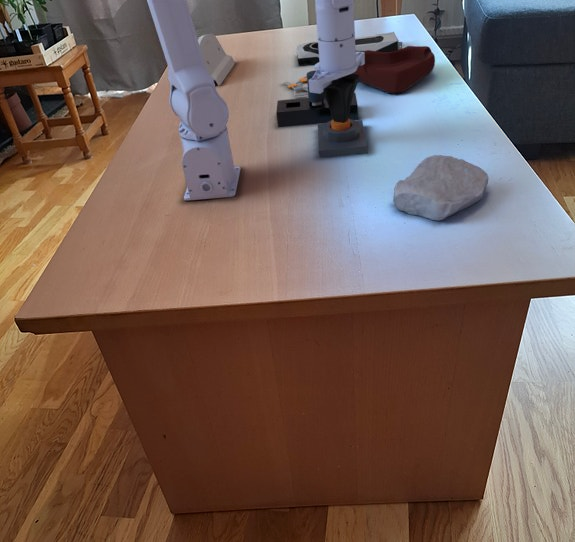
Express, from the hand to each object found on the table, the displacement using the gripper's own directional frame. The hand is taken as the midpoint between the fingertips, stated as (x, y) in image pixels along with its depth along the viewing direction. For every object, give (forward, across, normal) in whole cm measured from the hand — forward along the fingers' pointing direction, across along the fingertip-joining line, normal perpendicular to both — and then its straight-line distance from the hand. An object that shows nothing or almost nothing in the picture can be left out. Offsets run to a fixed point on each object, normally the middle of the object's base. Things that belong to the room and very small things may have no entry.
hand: (340, 120), depth 93 cm
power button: (+2, 0, 0) cm, 2 cm away
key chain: (+4, -22, -22) cm, 31 cm away
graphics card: (+4, -44, -23) cm, 50 cm away
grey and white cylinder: (+4, -8, -10) cm, 13 cm away
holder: (+4, -8, -10) cm, 13 cm away
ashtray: (+4, -29, -4) cm, 30 cm away
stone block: (+4, +12, +23) cm, 26 cm away
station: (+4, 0, 0) cm, 4 cm away
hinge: (+4, -22, -49) cm, 54 cm away
